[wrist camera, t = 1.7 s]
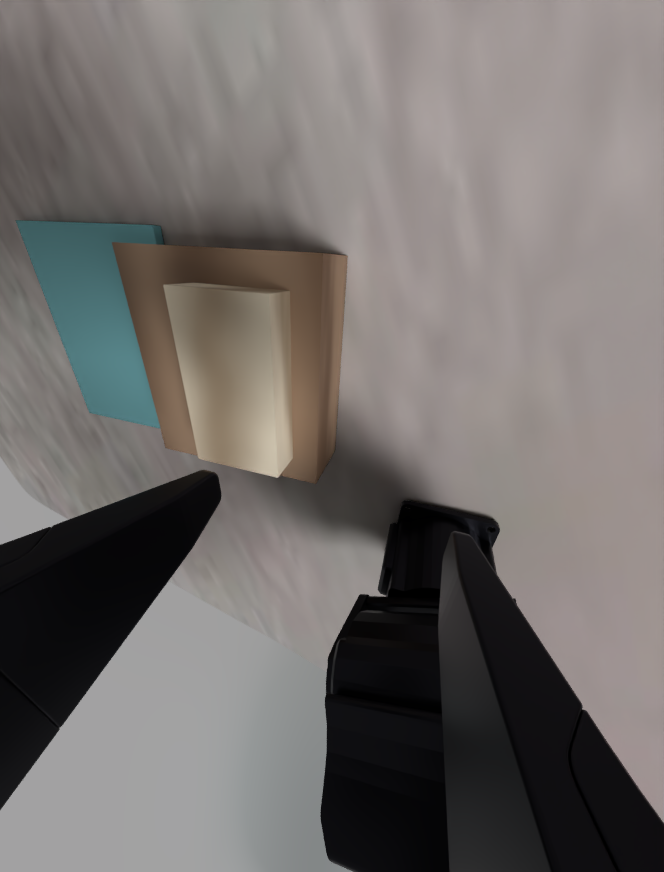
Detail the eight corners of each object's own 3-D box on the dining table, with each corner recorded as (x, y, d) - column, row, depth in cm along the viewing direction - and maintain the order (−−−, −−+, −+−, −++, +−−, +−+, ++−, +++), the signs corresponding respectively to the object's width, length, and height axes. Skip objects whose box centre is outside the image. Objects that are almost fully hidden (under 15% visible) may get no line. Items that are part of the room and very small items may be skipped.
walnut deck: (347, 255, 16) (323, 253, 12) (335, 450, 22) (316, 484, 18) (171, 246, 18) (111, 242, 15) (203, 423, 24) (165, 448, 21)
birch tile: (289, 290, 14) (268, 294, 12) (292, 458, 18) (277, 477, 16) (194, 282, 15) (162, 284, 13) (219, 442, 19) (198, 458, 18)
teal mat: (160, 226, 18) (152, 225, 17) (199, 432, 25) (195, 436, 24) (25, 221, 21) (15, 220, 20) (95, 410, 28) (89, 412, 27)
